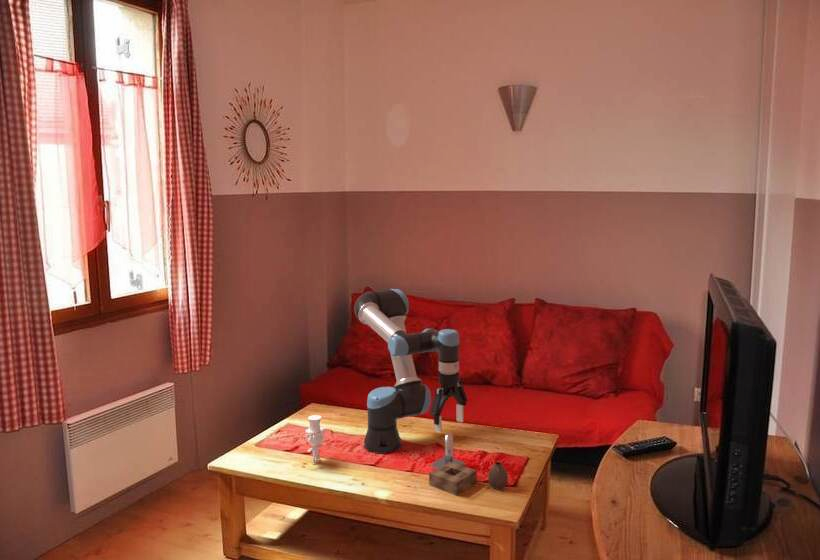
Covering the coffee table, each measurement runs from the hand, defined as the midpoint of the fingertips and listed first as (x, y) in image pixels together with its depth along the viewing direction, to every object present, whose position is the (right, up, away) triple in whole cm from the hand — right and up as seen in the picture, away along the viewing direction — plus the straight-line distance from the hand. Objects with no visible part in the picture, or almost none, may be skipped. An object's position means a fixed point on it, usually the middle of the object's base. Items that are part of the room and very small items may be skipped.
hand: (449, 426), depth 243 cm
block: (+1, -18, -12) cm, 22 cm away
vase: (+16, -18, -13) cm, 28 cm away
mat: (0, -15, +4) cm, 16 cm away
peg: (0, -15, +3) cm, 15 cm away
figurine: (-51, -16, +8) cm, 54 cm away
